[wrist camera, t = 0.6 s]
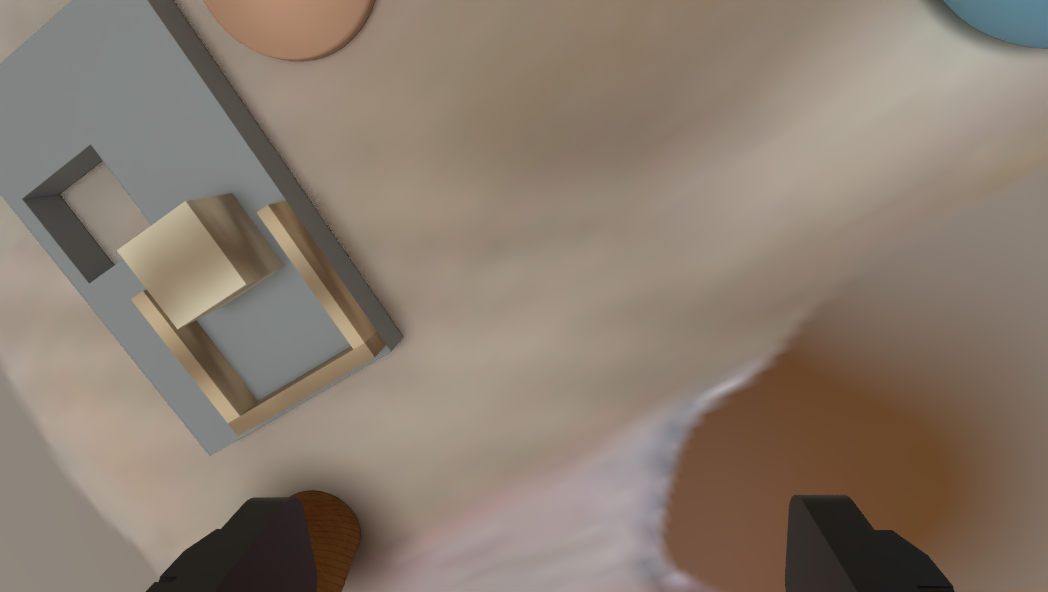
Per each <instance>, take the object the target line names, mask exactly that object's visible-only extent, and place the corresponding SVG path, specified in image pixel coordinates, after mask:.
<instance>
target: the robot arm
mask: <svg viewBox="0 0 1048 592" xmlns="http://www.w3.org/2000/svg"><path fill="white" fill-rule="evenodd" d="M785 587H786V592H954V589H953V585H952V584H951V583H950V582H949V581H948V579H947V578H946V577H945V576H944V575H943V573H942V572H941V571H940V570H939V568H938V567H937V566H936V565H935V564H934V562H933V561H932V560H931V559H930V558H929V556H928V555H926V554H925V553H924V552H922V551H921V550H919V549H918V548H916V547H915V546H914V545H912V544H911V543H909V542H908V541H907V540H905V539H904V538H902V537H901V536H899V535H898V534H897V533H895V532H894V531H892V530H874V529H873V528H872V526H871V525H870V523H869V522H868V521H867V519H866V518H865V517H864V515H863V514H862V512H861V511H860V510H859V508H858V507H857V506H856V504H855V503H854V502H853V501H852V499H851V498H850V497H848V496H847V495H794V496H793V497H792V498H791V501H790V505H789V517H788V534H787V552H786V568H785ZM316 591H317V569H316V564H315V559H314V555H313V550H312V545H311V540H310V535H309V531H308V526H307V521H306V516H305V511H304V507H303V505H302V503H301V501H300V500H299V499H298V498H295V497H282V498H251V499H249V500H247V501H246V502H245V503H244V504H243V505H242V506H241V507H240V509H239V510H238V511H237V512H236V513H235V514H234V515H233V516H232V517H231V518H230V520H229V521H228V522H227V523H226V524H225V525H224V526H223V527H222V528H221V529H216V530H214V531H213V532H211V533H210V534H209V535H207V536H206V537H204V538H203V539H201V540H200V541H198V542H197V543H195V544H194V545H192V546H191V547H189V548H188V549H186V550H185V551H184V552H183V553H182V554H181V555H180V556H179V557H178V558H177V559H176V560H175V561H174V562H173V563H172V564H171V566H170V567H169V568H168V569H167V570H166V571H165V572H164V573H163V574H162V575H161V576H160V580H159V582H154V583H153V585H152V586H151V587H150V588H149V589H148V590H147V591H146V592H316Z"/></svg>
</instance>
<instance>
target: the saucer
mask: <svg viewBox="0 0 1048 592" xmlns="http://www.w3.org/2000/svg"><path fill="white" fill-rule="evenodd" d="M203 1H204V3H205V4H206V6H207V8H208V9H209V11H210V13H211V14H212V15H213V17H214V18H215V19H216V21H217V22H218V23H219V24H220V25H221V26H222V27H223V28H224V29H225V31H226V32H227V33H229V34H230V35H231V36H232V37H233V38H235V39H236V40H237V41H239V42H240V43H242V44H243V45H245V46H246V47H248V48H250V49H252V50H254V51H256V52H258V53H261V54H265V55H268V56H271V57H275V58H279V59H284V60H290V61H308V60H315V59H319V58H322V57H325V56H328V55H330V54H332V53H334V52H336V51H337V50H339V49H341V48H342V47H344V46H345V45H346V44H347V43H348V42H350V41H351V40H352V39H353V38H354V37H355V35H356V34H357V33H358V32H359V31H360V30H361V28H362V26H363V25H364V23H365V22H366V20H367V18H368V16H369V14H370V12H371V10H372V7H373V4H374V1H375V0H203Z"/></svg>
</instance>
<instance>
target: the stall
mask: <svg viewBox="0 0 1048 592" xmlns="http://www.w3.org/2000/svg"><path fill="white" fill-rule="evenodd" d="M257 214H258V215H259V217H260V218H261V220H262V221H263V222H264V224H265V225H266V227H267V228H268V229H269V231H270V232H271V234H272V235H273V236H274V238H275V239H276V241H277V242H278V244H279V245H280V246H281V248H282V249H283V251H284V252H285V253H286V255H287V256H288V258H289V259H290V261H291V262H292V263H293V265H294V266H295V268H296V269H297V270H298V272H299V273H300V275H301V276H302V277H303V279H304V280H305V282H306V283H307V285H308V286H309V287H310V289H311V290H312V292H313V293H314V294H315V296H316V297H317V299H318V300H319V301H320V303H321V304H322V306H323V307H324V309H325V310H326V311H327V313H328V314H329V316H330V317H331V318H332V320H333V321H334V323H335V324H336V325H337V327H338V328H339V330H340V331H341V333H342V334H343V335H344V337H345V338H346V340H347V341H348V342H349V344H350V345H351V347H349V348H347V349H346V350H344V351H342V352H340V353H339V354H337V355H335V356H334V357H332V358H330V359H329V360H327V361H325V362H324V363H322V364H320V365H318V366H317V367H315V368H313V369H312V370H310V371H308V372H307V373H305V374H303V375H302V376H300V377H298V378H296V379H295V380H293V381H291V382H290V383H288V384H286V385H285V386H283V387H281V388H280V389H278V390H276V391H274V392H273V393H271V394H269V395H268V396H266V397H264V398H263V399H261V400H259V401H258V400H257V399H256V398H255V397H254V395H253V394H252V393H251V391H250V390H249V389H248V387H247V386H246V385H245V383H244V382H243V381H242V379H241V378H240V377H239V376H238V374H237V373H236V372H235V370H234V369H233V368H232V366H231V365H230V364H229V362H228V361H227V360H226V358H225V357H224V356H223V355H222V353H221V352H220V351H219V349H218V348H217V347H216V345H215V344H214V343H213V341H212V340H211V339H210V338H209V336H208V335H207V334H206V332H205V331H204V330H203V328H202V327H201V326H200V324H199V323H198V322H197V320H196V321H194V322H192V323H190V324H188V325H186V326H183V327H181V328H179V329H177V328H176V327H175V325H174V324H173V323H172V322H171V320H170V319H169V318H168V316H167V315H166V314H165V312H164V311H163V310H162V309H161V307H160V306H159V305H158V303H157V302H156V301H155V300H154V298H153V297H152V296H151V294H150V293H149V292H148V290H144V291H142V292H141V293H139V294H138V295H136V296H135V297H133V298H132V299H131V300H132V302H133V303H134V304H135V306H136V307H137V308H138V309H139V311H140V312H141V313H142V314H143V316H144V317H145V318H146V320H147V321H148V322H149V323H150V325H151V326H152V327H153V329H154V330H155V331H156V332H157V334H158V335H159V336H160V337H161V339H162V340H163V341H164V343H165V344H166V345H167V346H168V348H169V349H170V350H171V352H172V353H173V354H174V355H175V357H176V358H177V359H178V360H179V362H180V363H181V364H182V366H183V367H184V368H185V369H186V371H187V372H188V373H189V375H190V376H191V377H192V378H193V380H194V381H195V382H196V384H197V385H198V386H199V387H200V389H201V390H202V391H203V392H204V394H205V395H206V396H207V398H208V399H209V400H210V401H211V403H212V404H213V405H214V407H215V408H216V409H217V410H218V412H219V413H220V414H221V415H222V417H223V418H224V419H225V421H226V422H227V423H228V424H229V426H230V427H231V428H232V430H233V431H234V432H235V433H236V435H237V436H240V435H241V434H243V433H245V432H247V431H248V430H250V429H252V428H253V427H255V426H257V425H259V424H260V423H262V422H264V421H266V420H267V419H269V418H271V417H273V416H274V415H276V414H278V413H279V412H281V411H283V410H285V409H286V408H288V407H290V406H292V405H293V404H295V403H297V402H298V401H300V400H302V399H304V398H305V397H307V396H309V395H311V394H312V393H314V392H316V391H317V390H319V389H321V388H323V387H324V386H326V385H328V384H330V383H331V382H333V381H335V380H336V379H338V378H340V377H342V376H343V375H345V374H347V373H349V372H350V371H352V370H354V369H356V368H357V367H359V366H361V365H362V364H364V363H366V362H368V361H369V360H371V359H373V358H375V357H376V355H377V354H378V353H379V352H380V351H381V350H382V349H383V348H384V347H385V346H386V344H385V342H384V341H383V339H382V338H381V336H380V335H379V334H378V332H377V331H376V329H375V328H374V326H373V325H372V323H371V322H370V321H369V319H368V318H367V316H366V315H365V313H364V312H363V310H362V309H361V308H360V306H359V305H358V303H357V302H356V300H355V299H354V297H353V296H352V295H351V293H350V292H349V290H348V289H347V287H346V286H345V285H344V283H343V282H342V280H341V279H340V277H339V276H338V274H337V273H336V272H335V270H334V269H333V267H332V266H331V264H330V263H329V261H328V260H327V259H326V257H325V256H324V254H323V253H322V251H321V250H320V248H319V247H318V246H317V244H316V243H315V241H314V240H313V238H312V237H311V235H310V234H309V233H308V231H307V230H306V228H305V227H304V225H303V224H302V222H301V221H300V220H299V218H298V217H297V215H296V214H295V212H294V211H293V210H292V208H291V207H290V205H289V204H288V202H287V201H282V202H278V203H273V204H269V205H267V206H265V207H264V208H262V209H261V210H259V211H258V212H257Z"/></svg>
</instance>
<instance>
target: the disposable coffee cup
mask: <svg viewBox="0 0 1048 592" xmlns="http://www.w3.org/2000/svg"><path fill="white" fill-rule="evenodd" d="M291 497H295V498H298V499H299V500H300V501H301V503H302V505H303V507H304V511H305V516H306V521H307V526H308V531H309V535H310V540H311V545H312V550H313V555H314V559H315V564H316V569H317V591H316V592H342V589H343V588H342V587H344V584H345V580H346V578H347V575H348V573H349V570H350V566H351V564H352V561H353V560H352V559H353V558H354V555H355V552H356V550H357V547H358V545H359V541H360V528H359V523H358V521H357V519H356V517H355V515H354V514H353V512H352V511H351V510H350V508H348V507H347V506H346V505H345V504H344V503H343V502H342V501H340V500H339V499H337V498H336V497H334V496H331V495H329V494H326V493H322V492H317V491H307V492H300V493H297V494H295V495H293V496H291Z"/></svg>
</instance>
